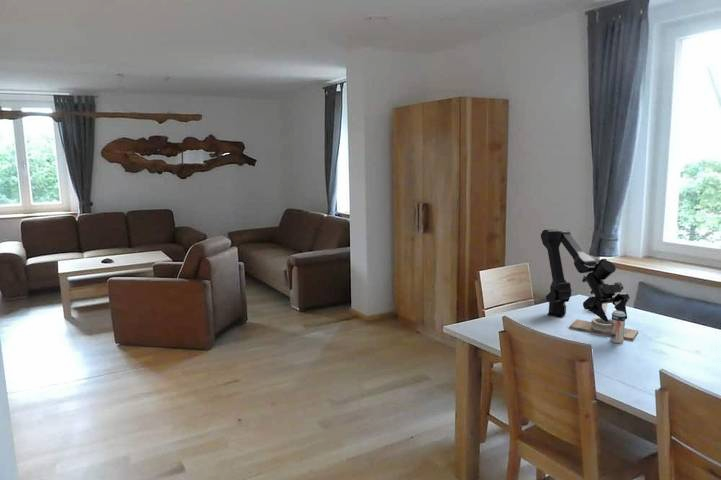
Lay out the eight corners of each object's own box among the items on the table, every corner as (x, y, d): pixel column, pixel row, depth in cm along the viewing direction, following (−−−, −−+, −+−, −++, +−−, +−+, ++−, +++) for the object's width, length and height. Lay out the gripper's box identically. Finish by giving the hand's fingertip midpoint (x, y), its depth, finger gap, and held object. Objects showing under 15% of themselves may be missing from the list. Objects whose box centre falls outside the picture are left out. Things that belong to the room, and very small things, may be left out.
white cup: (605, 307, 243) (606, 293, 242) (610, 311, 236) (611, 297, 235) (590, 307, 243) (591, 292, 242) (595, 311, 237) (596, 296, 236)
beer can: (607, 339, 202) (609, 310, 200) (618, 339, 202) (621, 309, 200) (614, 344, 197) (616, 314, 195) (625, 343, 197) (628, 313, 195)
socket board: (569, 328, 214) (569, 319, 214) (576, 321, 223) (577, 312, 222) (633, 340, 200) (633, 331, 199) (638, 332, 209) (639, 323, 208)
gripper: (589, 277, 198) (609, 312, 190) (628, 273, 204) (649, 307, 195) (574, 291, 207) (592, 326, 198) (611, 287, 213) (630, 321, 204)
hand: (616, 320), depth 199 cm, fingers open, 9 cm apart
